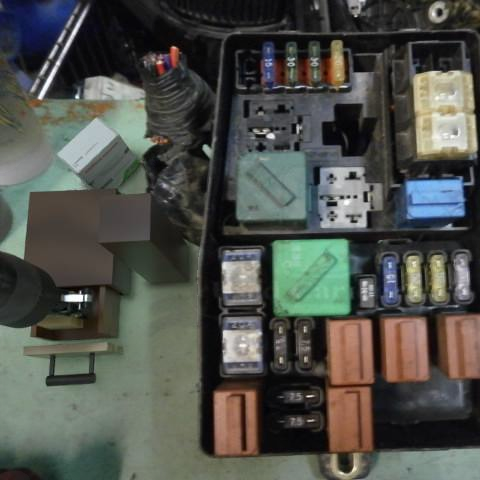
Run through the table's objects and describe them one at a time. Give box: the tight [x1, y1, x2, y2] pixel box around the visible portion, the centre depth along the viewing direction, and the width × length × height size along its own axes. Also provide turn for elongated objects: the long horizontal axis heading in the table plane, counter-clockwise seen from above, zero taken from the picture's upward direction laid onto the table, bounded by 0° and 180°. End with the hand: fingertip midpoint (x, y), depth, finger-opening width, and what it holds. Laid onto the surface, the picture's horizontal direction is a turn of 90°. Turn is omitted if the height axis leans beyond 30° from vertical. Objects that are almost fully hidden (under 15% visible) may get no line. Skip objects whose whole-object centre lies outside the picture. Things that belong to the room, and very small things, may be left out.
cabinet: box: [23, 188, 133, 297], centre depth 83 cm, size 15×13×9 cm
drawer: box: [22, 285, 124, 388], centre depth 79 cm, size 18×11×7 cm, turn 4°
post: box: [98, 192, 190, 285], centre depth 75 cm, size 6×6×24 cm
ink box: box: [56, 116, 141, 189], centre depth 85 cm, size 9×5×12 cm, turn 141°
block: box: [37, 291, 83, 330], centre depth 74 cm, size 4×4×4 cm
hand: (67, 313), depth 76 cm, fingers closed on block, 4 cm apart
